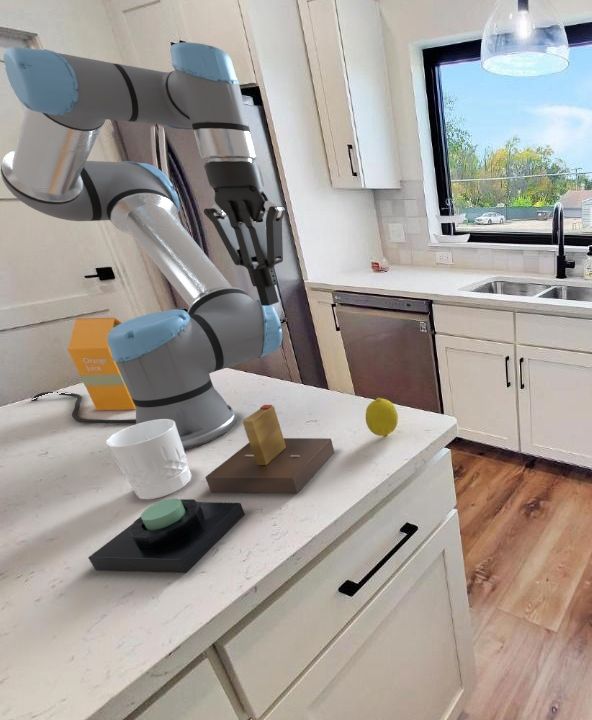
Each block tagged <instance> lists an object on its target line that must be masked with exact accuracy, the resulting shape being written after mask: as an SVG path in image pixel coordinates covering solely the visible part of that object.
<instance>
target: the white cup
mask: <svg viewBox="0 0 592 720" xmlns="http://www.w3.org/2000/svg"><path fill="white" fill-rule="evenodd" d="M105 445H106V447H107V448H108V450H109V452H110V454H111V455H112V458H113V459H114V461H115V463H116V464H117V466H118V468H119V470H120V471H121V473H122V475H123V476H124V477H125V479H126V480H127V483H128V484H129V485H130V486H131V487H132V489H133V491H134V493H135V495H136V496H137V497H138V498H139V499H140V500H147V501H148V500H154V499H160V498H162V497H166V496H168V495H170V494H171V495H172V494H173V493H175V492H177V491H179V490H180V489H182V488H184V487H185V486H186V485H187V484H188V483H190V482H191V479H192V472H191V469H190V467H189V463H188V458H187V454H186V452H185V450H184V448H183V445H182V442H181V439H180V436H179V433H178V430H177V427H176V424H175V422H174V421H173V420H170V419H158V420H151V421H146V422H142V423H139V424H136V423H135V424H133V425H130V426H127V427H125V428H123V429H120V430H119V431H117V432H114V433H113V434H112V435H110V436H109V437H108V438H107V439H106V440H105Z"/></svg>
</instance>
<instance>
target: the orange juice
mask: <svg viewBox="0 0 592 720" xmlns="http://www.w3.org/2000/svg"><path fill="white" fill-rule="evenodd" d="M121 323H122V322H121V321H119V320H118V319H117V318H115V317H93V318H90V317H89V318H88V317H87V318H75V320H74V324H73V328H72V333H71V337H70V341H69V345H68V348H67V351H68V353H69V355H70V357H71V359H72V362H73V363H74V366H75V368H76V370H77V372H78V374H79V377H80V379H81V381H82V383H83V385H84V387H85V388H86V391H87V393H88V395H89V397H90V399H91V401H92V403H93V405H94V407H95V409H96V411H126V410H127V411H128V410H130V411H131V410H136V408H135V405H134V403H133V401H132V398H131V396H130V394H129V392H128V389H127V387H126V385H125V382H124V380H123V378H122V376H121V373H120V371H119V369H118V367H117V364H116V362H115V361H114V360H113V359H112V354H111V351H110V348H109V344H108V341H107V336H108V333H109V332H110V331H111V330H112V329H113V328H114V327H116V326H117V325H119V324H121Z"/></svg>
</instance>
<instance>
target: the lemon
mask: <svg viewBox="0 0 592 720" xmlns="http://www.w3.org/2000/svg"><path fill="white" fill-rule="evenodd" d="M398 422H399V415H398V412H397V410H396V406H395V405H394V403H392V402H391V401H390V400H388V399H386V398H381V397H376V399H374V400H372V401H371V402H370V403H369V404H368V406H367V407H366V410H365V423H366V426H367V428H368V430H369V431H370V432H371V433H373V434H374V435H376V436H380V437H384V438H386V437H388V436H389V435H390V434H391V433H393V432H394V431H395V429H396V428H397V426H398Z"/></svg>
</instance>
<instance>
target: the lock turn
mask: <svg viewBox="0 0 592 720" xmlns="http://www.w3.org/2000/svg"><path fill="white" fill-rule="evenodd" d="M241 422H242V424H243V427H244V430H245V433H246V437H247V440H248V443H250V446H251V448H252V451H253V454H254V457H255V460H256V463H257V465H267V464H268V463H269V462H271V461H272V460H273V459H274V458H275V457H276V456H277V455H278V454H280V453H281V452H282V451H283V450H284V449H285V448H286V445H285V442H284V438H285V437H284V435H283V432H282V428H281V426H280V422H279V418H278V415H277V412H276V409H275V406H274V405H272V404H263V405H262V406H260V407H259V409H258V410H256V411H254V412H253V413H252V414H250V415H249V416H248V417H246V418H245V419H243V420H242V421H241Z"/></svg>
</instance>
